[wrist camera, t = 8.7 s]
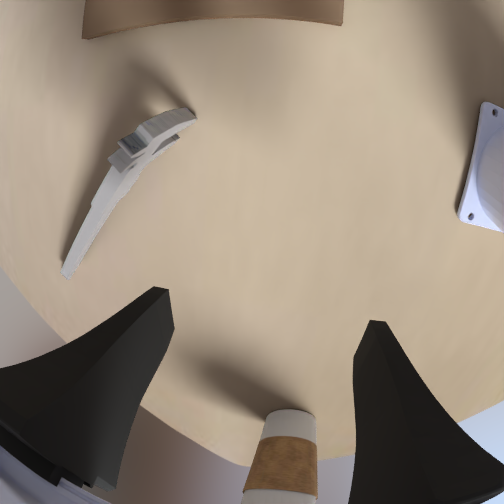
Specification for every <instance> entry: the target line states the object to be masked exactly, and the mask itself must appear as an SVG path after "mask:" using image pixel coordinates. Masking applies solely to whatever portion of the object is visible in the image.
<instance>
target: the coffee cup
mask: <svg viewBox="0 0 504 504" xmlns="http://www.w3.org/2000/svg"><path fill="white" fill-rule="evenodd" d="M317 491H318V490H317V446H316V419H315V418H314V416H313V415H311V414H309V413H307V412H304V411H300V410H294V409H283V410H277V411H274V412H271V413H270V414H269V415H268V416H267V418H266V421H265V424H264V428H263V432H262V435H261V439H260V442H259V444H258V447H257V450H256V454H255V457H254V460H253V463H252V466H251V469H250V472H249V475H248V478H247V480H246V483H245V486H244V489H243V493H244V495H243V499H242V501H241V504H315V500H316V499H317V497H318V496H317V495H318V492H317Z"/></svg>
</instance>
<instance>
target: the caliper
mask: <svg viewBox="0 0 504 504" xmlns="http://www.w3.org/2000/svg"><path fill="white" fill-rule="evenodd" d="M196 120H197V118H196V117H195V116H194V115H193V114H192V113H191V112H190V111H189V110H188V109H187V108H186V107H184V108H178V109H174V110H169V111H165V112H163V113H161V114H159V115H157V116H155V117H153V118H151V119H149V120H147V121H145V122H143V123H141V124H140V125H139V126H138V127H137V129H136V130H135V132H134V133H132V134H130V135H129V136H127V137H125V138H123V139H121V140H119V141H118V142H117V144H118V145H119V146H120V148H119V149H118V150H117V151H115V152H114V153H113V154H112V155H111V156H110V157H109V158H108V159H107V160H108V161H109V162H110V163H111V164H112V166H111V168H110V170H109V171H108V173H107V175H106V177H105V178H104V180H103V182H102V184H101V186H100V187H99V189H98V191H97V193H96V195H95V197H94V198H93V200H92V202H91V205H92V207H91V209H90V211H89V213H88V215H87V216H86V218H85V220H84V222H83V224H82V226H81V228H80V230H79V232H78V234H77V236H76V238H75V240H74V243H73V245H72V247H71V249H70V251H69V253H68V256H67V258H66V260H65V262H64V265H63V267H62V269H61V272H60V273H61V274H62V275H63V276H64V277H65V278H66V279H68V280H69V279H70V278H71V276H72V274H73V273H74V272H75V270H76V269H77V267H78V266H79V264H80V262H81V261H82V259H83V257H84V255H85V254H86V252H87V250H88V248H89V247H90V245H91V243H92V242H93V240H94V238H95V237H96V235H97V233H98V232H99V230H100V229H101V227H102V225H103V224H104V222H105V221H106V219H107V218H108V216H109V215H110V213H111V212H112V210H113V209H114V207H115V206H116V204H117V203H118V201H119V200H120V199H121V198H123V197H124V196H125V195H126V194H127V193H128V192H129V190H130V188H131V187H132V185H133V184H134V183H135V182H136V180H137V179H138V177H139V175H140V172H141V171H142V170H143V168H144V167H145V166H146V165H148V164H149V163H150V162H151V161H153V160H154V159H155V158H156V157H158V156H159V155H160V154H161V153H163V152H164V151H165V150H167V149H168V148H169V147H171V146H172V145H173V144H175V143H176V141H177V140H178V139H179V138H180V137H179V136H178V135H177V134H176V133H178V132H179V131H181V130H183V129H184V128H186V127H188V126H190V125H192V124H193V123H194V122H195V121H196Z"/></svg>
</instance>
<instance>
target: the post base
mask: <svg viewBox="0 0 504 504" xmlns="http://www.w3.org/2000/svg"><path fill="white" fill-rule="evenodd" d="M343 9H344V0H86V3H85V11H84V20H83V30H82V39H92V38H96V37H100V36H104V35H107V34H111V33H116V32H120V31H124V30H129V29H134V28H139V27H145V26H151V25H157V24H163V23H171V22H179V21H188V20H200V19H215V18H272V19H288V20H300V21H309V22H317V23H325V24H331V25H337V26H341V25H342V23H343Z"/></svg>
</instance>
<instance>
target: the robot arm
mask: <svg viewBox="0 0 504 504" xmlns="http://www.w3.org/2000/svg"><path fill="white" fill-rule="evenodd" d="M493 109H494V110H495V115H494V116H493V114H492V111H493ZM470 213H472V215H471V217H469V218H468V215H469V214H470ZM457 216H458V218H459V219H460V220H461V221H462V222H465V223H469V224H473V225H477V226H481V227H485V228H489V229H493V230H496V231H500V232H503V233H504V109H503V108H501V107H498V106H496V105H494V104H492V103H490V102H483V103H482V104H481V108H480V116H479V122H478V128H477V134H476V140H475V145H474V150H473V155H472V159H471V164H470V168H469V172H468V176H467V180H466V184H465V188H464V191H463V195H462V198H461V202H460V205H459V209H458V212H457ZM173 332H174V322H173V316H172V310H171V303H170V296H169V289H165V288H160V287H155V286H154V287H152V288H151V289H149V290H148V291H146V292H145V293H144V294H142V295H141V296H139V297H138V298H137V299H135V300H134V301H133V302H131V303H130V304H128V305H127V306H126V307H124V308H123V309H122V310H120V311H119V312H117V313H116V314H115V315H113V316H112V317H110V318H109V319H107V320H106V321H104V322H103V323H101V324H100V325H98V326H97V327H95V328H94V329H92V330H91V331H89V332H87V333H86V334H84V335H82V336H81V337H79V338H77V339H75V340H73V341H71V342H70V343H68V344H66V345H64V346H62V347H60V348H57V349H55V350H53V351H51V352H49V353H46V354H44V355H42V356H39V357H37V358H34V359H31V360H29V361H26V362H22V363H19V364H16V365H12V366H9V367H4V368H0V504H111V503H109V502H107V501H104V500H102V499H101V498H98V497H96V496H94V495H92V494H91V493H89V492H87V491H85V490H83V489H81V488H82V486H83V484H84V485H86V486H88V487H90V488H92V487H93V485H95V486H98V487H99V488H102V489H104V490H106V491H111V490H114V489H116V484H117V479H118V474H119V469H120V465H121V461H122V457H123V453H124V449H125V446H126V442H127V439H128V436H129V433H130V430H131V426H132V423H133V421H134V418H135V415H136V412H137V409H138V407H139V404H140V402H141V400H142V398H143V396H144V394H145V392H146V390H147V388H148V386H149V384H150V382H151V380H152V378H153V376H154V374H155V373H156V371H157V369H158V367H159V365H160V363H161V361H162V359H163V357H164V355H165V353H166V351H167V348H168V346H169V343H170V340H171V337H172V335H173ZM353 393H354V407H355V422H356V452H355V464H354V472H353V479H352V486H351V491H350V497H349V502H348V504H481V503H483V502H485V501H487V500H489V499H491V498H493V497H495V496H497V495H498V494H500V493H502V492H503V491H504V464H503V463H501V462H500V461H499V460H497V459H496V458H494V457H493V456H492V455H491V454H489V453H488V452H486V451H485V450H484V449H483V448H481V446H479V445H478V444H477V443H476V442H475V441H474V440H473V439H472V438H471V437H470V436H469V435H468V434H466V433H465V432H464V431H463V429H462V428H461V427H460V426H459V425H458V424H457V423H456V422H455V421H454V420H453V419H452V418H451V417H450V415H449V414H448V413H447V412H446V411H445V409H444V408H443V407H442V406H441V404H440V403H439V402H438V401H437V400H436V398H435V397H434V396H433V394H432V393H431V392H430V390H429V389H428V387H427V386H426V384H425V383H424V382H423V380H422V379H421V377H420V376H419V374H418V373H417V371H416V370H415V368H414V367H413V365H412V363H411V362H410V360H409V359H408V357H407V356H406V354H405V352H404V351H403V349H402V347H401V346H400V344H399V342H398V341H397V339H396V337H395V336H394V334H393V333H392V331H391V329H390V328H389V326H388V325H387V323H386V322H385V321H375V320H370V321H369V323H368V326H367V328H366V330H365V333H364V335H363V337H362V340H361V342H360V344H359V346H358V349H357V351H356V353H355V355H354V359H353Z"/></svg>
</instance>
